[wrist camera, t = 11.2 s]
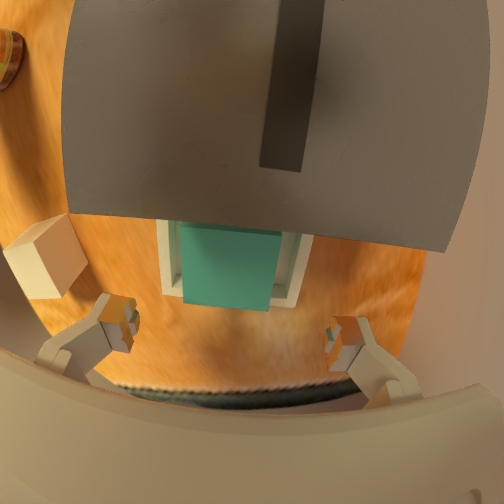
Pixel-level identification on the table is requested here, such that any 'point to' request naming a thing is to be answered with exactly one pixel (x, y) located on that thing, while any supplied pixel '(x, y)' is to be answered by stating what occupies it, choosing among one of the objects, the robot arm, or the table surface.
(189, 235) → the teal block
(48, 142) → the table surface
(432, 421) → the robot arm
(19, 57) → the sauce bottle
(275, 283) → the tray
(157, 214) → the dispenser
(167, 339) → the table surface
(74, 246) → the cream block
